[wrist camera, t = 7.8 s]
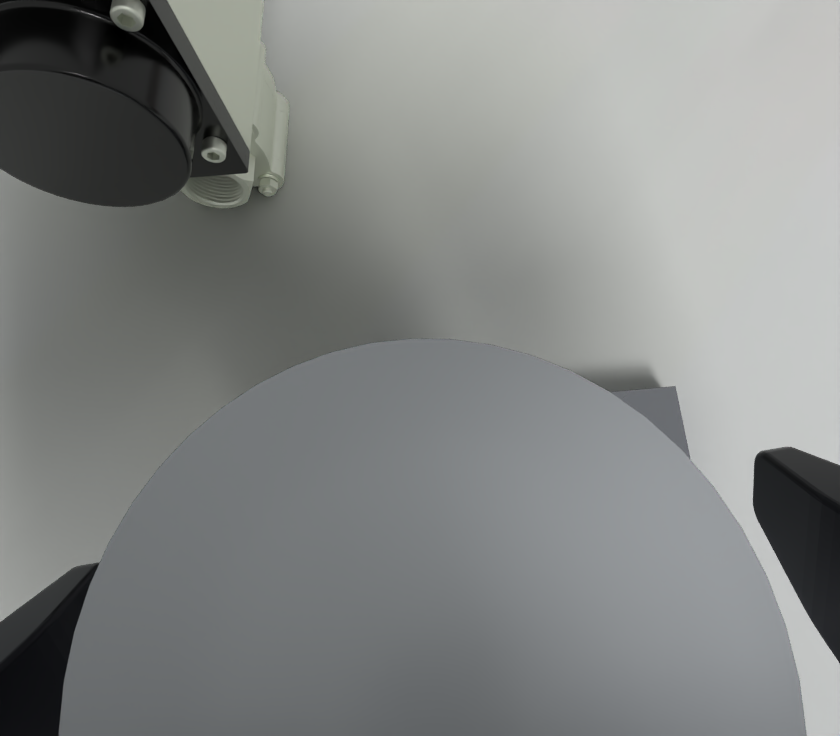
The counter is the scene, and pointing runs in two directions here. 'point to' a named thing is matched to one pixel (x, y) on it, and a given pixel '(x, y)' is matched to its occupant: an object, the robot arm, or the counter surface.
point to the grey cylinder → (429, 568)
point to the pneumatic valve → (140, 101)
